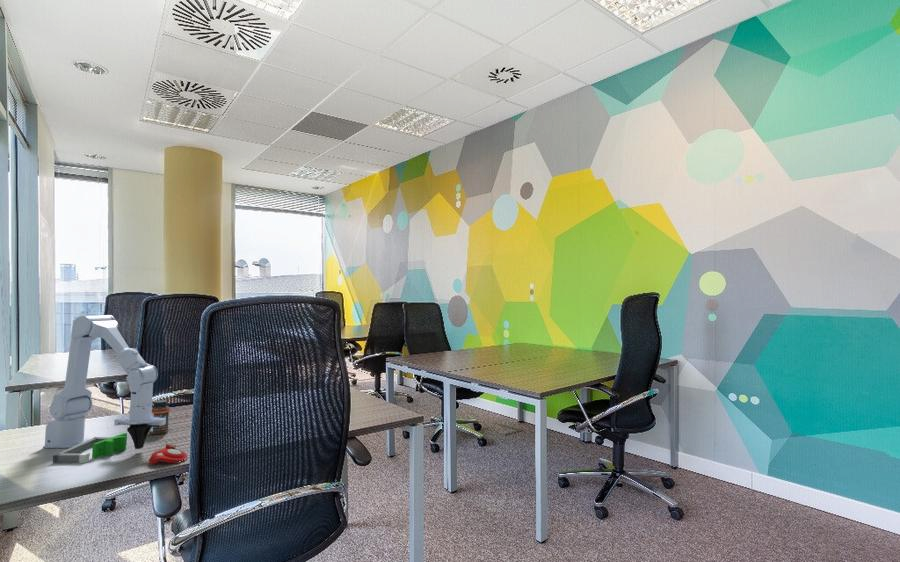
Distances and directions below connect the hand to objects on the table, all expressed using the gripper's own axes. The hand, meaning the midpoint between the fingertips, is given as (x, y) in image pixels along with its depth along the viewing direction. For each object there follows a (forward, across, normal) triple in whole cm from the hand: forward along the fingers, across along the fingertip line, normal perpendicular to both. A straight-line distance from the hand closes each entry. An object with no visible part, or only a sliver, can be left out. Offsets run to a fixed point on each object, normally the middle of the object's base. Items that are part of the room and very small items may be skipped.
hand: (139, 448), depth 140 cm
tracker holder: (+2, +13, -6) cm, 14 cm away
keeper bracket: (+1, -14, 0) cm, 14 cm away
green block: (+2, -8, 0) cm, 8 cm away
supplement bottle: (+2, -6, +21) cm, 22 cm away
